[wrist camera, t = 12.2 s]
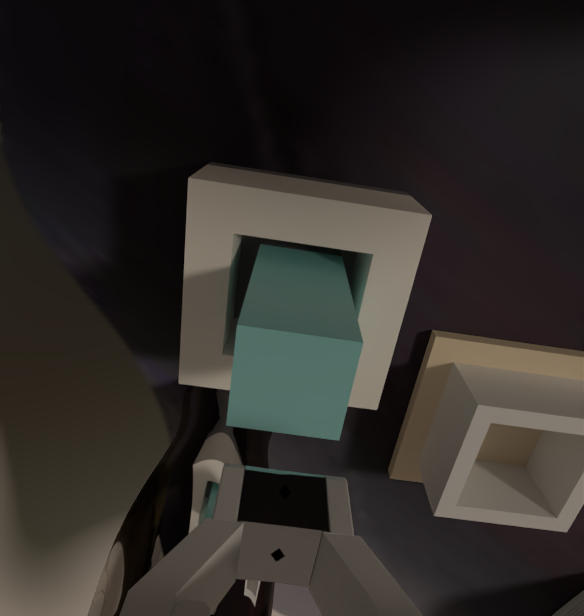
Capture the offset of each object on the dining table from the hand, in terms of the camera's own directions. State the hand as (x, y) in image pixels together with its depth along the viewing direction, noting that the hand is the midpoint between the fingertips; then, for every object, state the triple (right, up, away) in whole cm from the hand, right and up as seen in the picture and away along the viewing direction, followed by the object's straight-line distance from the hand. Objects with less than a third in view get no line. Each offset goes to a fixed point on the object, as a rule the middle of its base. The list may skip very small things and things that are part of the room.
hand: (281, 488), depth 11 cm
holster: (+13, -3, +18) cm, 22 cm away
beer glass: (-4, -2, +18) cm, 18 cm away
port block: (0, +7, +14) cm, 15 cm away
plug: (0, +6, +13) cm, 14 cm away
